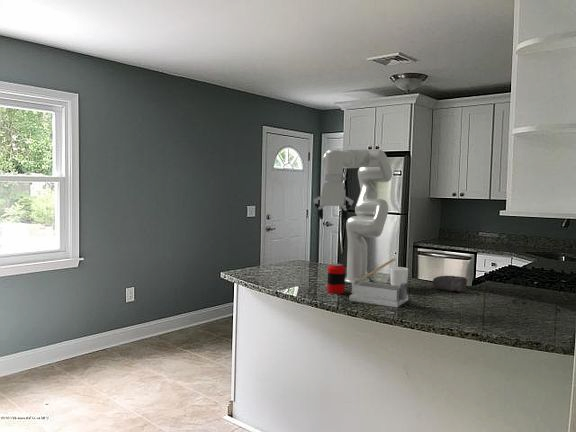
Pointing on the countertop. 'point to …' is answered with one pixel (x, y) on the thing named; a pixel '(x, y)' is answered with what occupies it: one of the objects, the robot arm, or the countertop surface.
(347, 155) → the robot arm
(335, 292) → the soda can
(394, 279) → the white cup
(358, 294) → the heatsink
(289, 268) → the countertop surface
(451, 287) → the perforated stone tool
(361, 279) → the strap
